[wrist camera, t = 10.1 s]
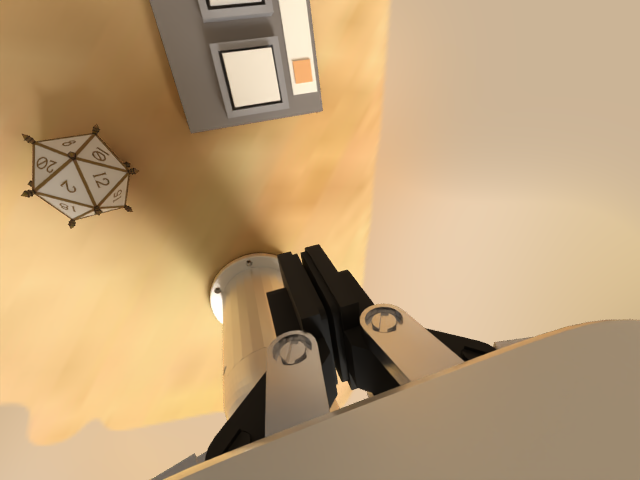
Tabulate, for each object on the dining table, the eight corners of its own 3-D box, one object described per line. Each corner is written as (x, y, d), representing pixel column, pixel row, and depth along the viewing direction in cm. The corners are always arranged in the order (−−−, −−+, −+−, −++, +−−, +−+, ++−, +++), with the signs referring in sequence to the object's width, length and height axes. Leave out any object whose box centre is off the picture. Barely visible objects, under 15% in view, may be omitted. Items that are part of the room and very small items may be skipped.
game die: (95, 171, 35) (-16, 203, 26) (98, 101, 30) (-36, 113, 22) (158, 217, 34) (66, 263, 26) (172, 154, 30) (65, 186, 21)
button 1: (277, 99, 31) (280, 100, 30) (234, 106, 31) (235, 107, 29) (268, 50, 29) (271, 47, 28) (222, 56, 29) (222, 53, 27)
